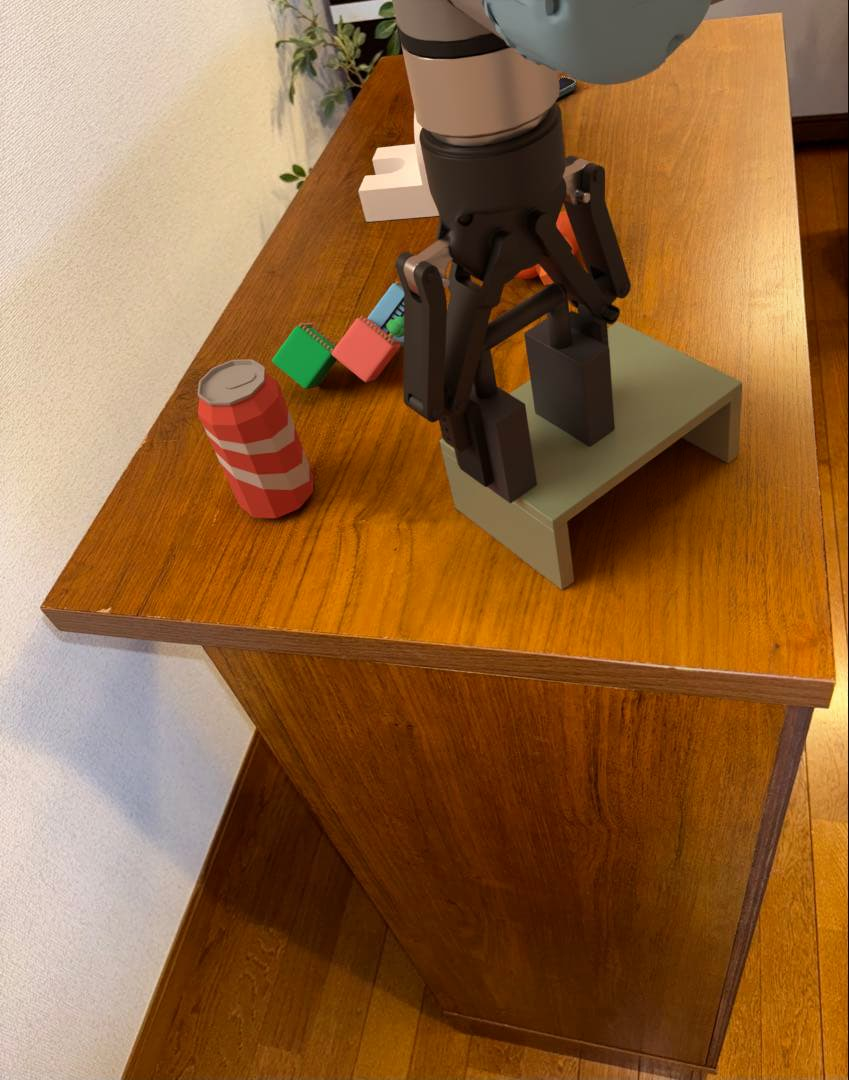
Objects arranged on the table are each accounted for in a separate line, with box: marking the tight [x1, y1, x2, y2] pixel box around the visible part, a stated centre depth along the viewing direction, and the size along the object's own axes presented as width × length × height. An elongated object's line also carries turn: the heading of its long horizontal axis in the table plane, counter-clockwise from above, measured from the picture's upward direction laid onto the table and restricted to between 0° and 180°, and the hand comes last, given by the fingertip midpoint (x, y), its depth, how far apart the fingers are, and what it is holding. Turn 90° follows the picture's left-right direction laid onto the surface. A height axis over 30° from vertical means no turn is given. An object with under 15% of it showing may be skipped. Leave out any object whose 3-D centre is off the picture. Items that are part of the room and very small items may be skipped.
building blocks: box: [271, 280, 404, 390], centre depth 88 cm, size 8×8×12 cm
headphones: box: [454, 283, 615, 504], centre depth 64 cm, size 6×10×11 cm, turn 128°
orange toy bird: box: [514, 210, 580, 287], centre depth 93 cm, size 5×8×12 cm
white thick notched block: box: [358, 110, 439, 223], centre depth 105 cm, size 18×10×11 cm, turn 80°
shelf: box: [439, 320, 743, 591], centre depth 72 cm, size 12×18×7 cm, turn 128°
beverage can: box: [197, 358, 314, 519], centre depth 76 cm, size 6×6×12 cm
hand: (534, 435), depth 67 cm, fingers closed on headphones, 10 cm apart
